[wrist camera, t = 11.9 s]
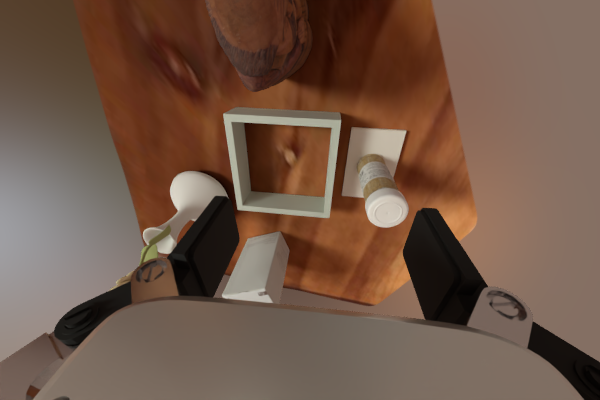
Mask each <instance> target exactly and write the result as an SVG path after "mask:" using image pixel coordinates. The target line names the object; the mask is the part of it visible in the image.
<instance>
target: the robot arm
mask: <svg viewBox="0 0 600 400" xmlns="http://www.w3.org/2000/svg"><path fill="white" fill-rule="evenodd" d="M238 243H239V233H238V228H237V224H236V219H235V215H234V210H233V206H232V201H231V200H230V199H228V197H227V196H215V197H214V198H213V199H212V200H211V202H210V203H209V204H208V206H207V207H206V208H205V209H204V211H203V212H202V213H201V215H200V216H199V217H198V219H197V220H196V221H195V222H194V223H193V225H192V226H191V227H190V229H189V230H188V231H187V233H186V234H185V235H184V236H183V238H182V239H181V240H180V242H179V243H178V244H177V245H176V247H175V248H174V249H173V251H172V252H171V253H170V255H169V256H168V257H167V258H163V257H158V258H153V259H150V260H148V261H146V262H144V263H142V264H141V265H139V266H138V267H137V268H136V269H135V270H134V272H133V274H132V276H131V281H130V282H127V283H125V284H123V285H121V286H119V287H117V288H114V289H112V290H110V291H108V292H106V293H104V294H101V295H99V296H97V297H95V298H93V299H91V300H89V301H87V302H84V303H82V304H80V305H78V306H76V307H75V308H73V309H72V310H70V311H69V312H68V313H67V314H65V315H64V316H63V317H62V318H61V319H60V321H59V322H58V323H57V325H56V327H55V330H54V332H52V333H51V334H47V333H44V334H43V335H41V336H40V337H38V338H37V339H35V340H34V341H32V342H31V343H29V344H27V345H26V346H24V347H23V348H21V349H20V350H18V351H17V352H15V353H14V354H12V355H11V356H9V357H8V358H6V359H5V360H3V361H2V362H0V400H600V362H599V361H597V360H595V359H594V358H592V357H590V356H589V355H587V354H585V353H584V352H582V351H580V350H579V349H577V348H576V347H574V346H572V345H571V344H569V343H567V342H566V341H564V340H562V339H561V338H559V337H558V336H555V335H554V334H553V333H551V332H549V331H548V330H546V329H544V328H543V327H541V326H539V325H538V324H536V323H535V322H533V314H532V312H531V310H530V309H529V307H528V306H527V305H526V304H525V303H524V302H523V301H522V300H521V299H520V298H519V297H517V296H516V295H514V294H513V293H511V292H509V291H507V290H504V289H502V288H498V287H488V286H487V284H486V283H485V281H484V280H483V278H482V277H481V275H480V273H479V272H478V270H477V269H476V267H475V266H474V264H473V263H472V262H471V260H470V258H469V257H468V255H467V254H466V252H465V251H464V249H463V247H462V246H461V244H460V243H459V241H458V240H457V239H456V237H455V236H454V234H453V233H452V231H451V230H450V228H449V227H448V225H447V224H446V222H445V221H444V219H443V217H442V216H441V214H440V213H439V211H438V210H437V209H435V208H422V209H421V211H417V213H416V216H415V219H414V221H413V224H412V227H411V230H410V232H409V235H408V238H407V240H406V243H405V246H404V249H403V257H404V260H405V262H406V265H407V268H408V271H409V274H410V277H411V280H412V282H413V285H414V288H415V291H416V294H417V297H418V300H419V303H420V306H421V309H422V311H423V314H424V317H425V319H426V320H423V319H415V318H407V317H399V316H389V315H380V314H371V313H362V312H353V311H344V310H333V309H324V308H315V307H305V306H295V305H286V304H276V303H266V302H256V301H246V300H236V299H225V298H213V296H214V295H215V292H216V290H217V288H218V286H219V283H220V282H221V280H222V277H223V275H224V273H225V271H226V269H227V267H228V265H229V262H230V260H231V258H232V256H233V254H234V252H235V250H236V248H237V245H238Z"/></svg>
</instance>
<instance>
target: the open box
mask: <svg viewBox="0 0 600 400" xmlns="http://www.w3.org/2000/svg"><path fill="white" fill-rule="evenodd" d="M223 116H224V123H225V129H226V136H227V143H228V149H229V156H230V163H231V169H232V176H233V183H234V190H235V196H236V203H237V210H244V211H255V212H266V213H277V214H288V215H299V216H310V217H321V218H329V217H330V209H331V201H332V192H333V184H334V176H335V168H336V160H337V151H338V143H339V135H340V127H341V116H340V113H339V112H320V111H301V110H281V109H262V108H243V107H236V108H234V109H232V110H230V111H228V112H226V113H224V114H223ZM244 123H262V124H279V125H297V126H314V127H331V128H332V130H331V139H330V149H329V159H328V169H327V179H326V189H325V197H314V196H302V195H290V194H279V193H267V192H255V191H251V185H250V175H249V166H248V156H247V146H246V137H245V127H244Z"/></svg>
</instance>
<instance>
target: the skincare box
mask: <svg viewBox="0 0 600 400" xmlns="http://www.w3.org/2000/svg"><path fill="white" fill-rule="evenodd" d="M289 252H290V250H289V248H288V246H287V244H286V242H285V240H284V238H283V235H282V233H281V232H280V231H279V232H275V233H271V234H266V235H262V236H257V237H253V238H248V240H247V242H246V244H245V246H244V249H243V251H242V253H241V255H240V257H239V260H238V262H237V264H236V266H235V268H234V270H233V273H232V275H231V277H230V279H229V281H228V284H227V286H226V288H225V290H224V292H223V294H222V296H223V298H225V299H236V300H246V301H256V302H266V303H276V304H279V303H280V298H281V293H282V288H283V282H284V277H285V272H286V267H287V262H288V257H289Z"/></svg>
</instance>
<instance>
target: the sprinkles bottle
mask: <svg viewBox="0 0 600 400" xmlns="http://www.w3.org/2000/svg"><path fill="white" fill-rule="evenodd" d="M357 172H358V174H359V180H360V184H361V189H362V193H363V196H364V199H365V202H366V203H365V209H366V213H367V216H368V219H369V220H370V221H371V222H372V223H373V224H374V225H376V226H379V227H393V226H396V225H398V224H400V223H401V222H402V221H403V220H404V219H405V218H406V216H407V214H408V210H409V208H408V204H407V202H406V200H405V198H404V196H403V194H402V193H401V192H399V190H398V188H397V186H396V184H395V181H394V179H393V177H392V175H391V173H390V171H389V169H388V167H387V166H386V165H385V161H384V159H383V158H382V157H381V156H380V155H377V154H367V155H365V156H364V157H362V158H361V159H360V160H359V162H358V164H357Z"/></svg>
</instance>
